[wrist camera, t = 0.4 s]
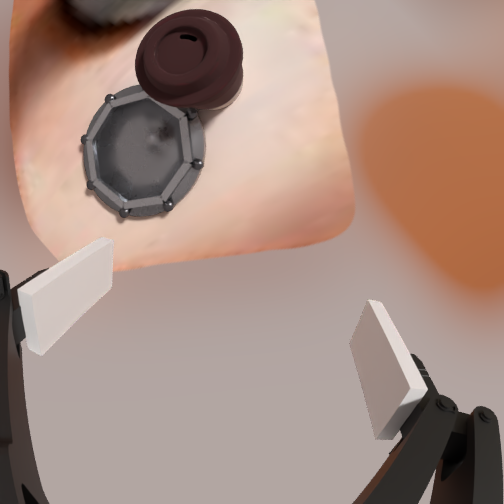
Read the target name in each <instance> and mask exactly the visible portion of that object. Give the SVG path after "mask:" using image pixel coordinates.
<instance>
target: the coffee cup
mask: <svg viewBox="0 0 504 504" xmlns="http://www.w3.org/2000/svg"><path fill="white" fill-rule="evenodd" d="M242 60H243V48H242V43H241V40H240V38H239V35H238V33H237V31H236V29H235V28H234V26H233V25H232V24H231V23H230V22H229V21H228V20H227V19H226V18H224V17H223V16H221V15H219V14H217V13H214V12H211V11H208V10H202V9H190V10H184V11H180V12H176V13H174V14H171V15H169V16H167V17H165V18H164V19H162V20H161V21H159V22H158V23H157V24H155V25H154V26H153V27H152V28H151V29H150V30H149V31H148V33H147V34H146V35H145V36H144V38H143V40H142V41H141V43H140V45H139V48H138V50H137V54H136V59H135V71H136V76H137V79H138V82H139V84H140V86H141V87H142V89H143V90H144V91H145V92H146V93H147V95H149V96H150V97H151V98H152V99H154V100H156V101H158V102H160V103H162V104H165V105H168V106H171V107H176V108H191V107H192V108H196V109H208V110H217V109H221V108H224V107H226V106H228V105H230V104H231V103H233V102H234V101H235V100H236V99H237V97H238V96H239V94H240V92H241V90H242V86H243V68H242Z"/></svg>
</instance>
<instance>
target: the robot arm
mask: <svg viewBox="0 0 504 504" xmlns="http://www.w3.org/2000/svg"><path fill="white" fill-rule="evenodd" d="M113 247H114V240H112V239H108V238H104V237H101V238H99V239H97V240H95V241H94V242H92V243H90V244H89V245H87V246H85V247H83V248H82V249H80V250H78V251H77V252H75V253H74V254H72V255H70V256H69V257H67V258H65V259H64V260H62V261H60V262H59V263H57V264H56V265H54V266H52V267H51V268H47V269H44V270H41V271H38V272H37V273H35V274H34V275H32V277H29V278H27V279H26V281H23V282H21V283H20V284H18V285H17V286H15V287H13V288H12V289H10V283H9V275H8V273H7V272H6V271H3V270H0V504H49V502H48V500H47V498H46V496H45V494H44V491H43V489H42V486H41V482H40V478H39V474H38V470H37V466H36V461H35V457H34V452H33V447H32V442H31V436H30V430H29V424H28V417H27V409H26V401H25V392H24V380H23V367H22V366H23V365H22V348H21V343H20V342H21V341H22V340H23V339H24V338H26V342H27V346H28V349H29V350H31V351H33V352H35V353H37V354H39V355H41V356H42V355H43V354H44V353H45V352H46V351H47V350H48V349H49V348H50V347H51V346H52V345H53V344H54V343H55V342H56V341H57V340H58V339H59V338H60V337H61V336H62V335H63V334H64V333H65V332H66V331H67V330H68V329H69V328H70V327H71V326H72V325H73V324H74V323H75V322H76V321H77V320H78V319H79V318H80V317H81V316H82V315H83V314H84V313H85V312H86V311H87V310H88V309H90V308H91V307H92V306H93V304H95V303H96V302H97V301H98V300H99V299H100V298H101V297H102V296H103V295H104V294H105V293H107V292H108V291H109V290H110V289H111V288H112V269H113ZM349 344H350V348H351V351H352V354H353V357H354V361H355V365H356V368H357V372H358V375H359V379H360V382H361V386H362V389H363V393H364V397H365V400H366V404H367V408H368V412H369V416H370V419H371V423H372V427H373V431H374V435H375V439H381V440H382V439H383V440H387V439H388V440H392V439H393V438H394V437H395V436H396V434H397V433H398V432H399V430H400V431H401V434H402V438H401V440H400V441H399V442H398V443H397V445H396V446H395V447H394V448H393V449H392V451H391V452H390V453H389V457H388V458H387V460H386V461H385V462H384V464H383V465H382V467H381V468H380V469H379V471H378V472H377V473H376V475H375V476H374V477H373V479H372V480H371V482H370V483H369V484H368V485H367V486H366V488H365V489H364V490H363V491H362V493H361V494H360V495H359V496H358V498H357V499H356V500H355V501H354V502H353V503H352V504H418V503H419V500H420V499H421V497H422V495H423V493H424V491H425V489H426V487H427V485H428V484H429V482H430V479H431V477H432V475H433V473H434V471H435V469H436V473H435V479H434V485H433V490H432V496H431V501H430V504H503V470H502V455H501V443H500V434H499V425H498V420H497V417H496V415H495V414H494V412H493V411H491V410H490V409H488V408H486V407H483V406H478V407H476V408H475V409H474V410H473V412H472V413H471V414H470V415H469V414H466V413H462V412H458V408H457V405H456V404H455V403H454V402H453V400H451V399H450V398H448V397H446V396H444V395H439V393H438V392H437V389H436V388H435V386H434V384H433V382H432V380H431V378H430V377H429V374H428V372H427V371H425V370H426V369H425V367H424V365H423V363H422V361H420V360H419V359H418V358H417V357H416V356H415V355H414V354H410V353H409V351H408V349H407V348H406V346H405V344H404V342H403V340H402V338H401V337H400V335H399V333H398V331H397V329H396V327H395V326H394V324H393V322H392V320H391V319H390V317H389V315H388V313H387V312H386V310H385V308H384V307H383V305H382V303H381V302H379V301H374V300H369V299H368V300H367V303H366V305H365V308H364V310H363V312H362V315H361V318H360V320H359V323H358V325H357V327H356V329H355V332H354V334H353V336H352V339H351V341H350V343H349Z"/></svg>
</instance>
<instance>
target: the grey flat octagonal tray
mask: <svg viewBox="0 0 504 504" xmlns="http://www.w3.org/2000/svg"><path fill="white" fill-rule="evenodd" d="M81 143H82V144H84V165H85V170H86V174H87V177H88V180H89V181H88V182H87V188H88V189H90V190H92V189H94V191H95V192H96V194H97V195H98V196H99V198H100V199H101V200H102V201H103V202H104V203H106V204H107V205H108V206H110V207H111V208H113V209H114V210H116V211H118V212H119V214H120V216H121V217H123V218H125V217H127V216H129V215H131V216H150V215H155V214H158V213H160V212H163V211H167V212H169V211H171V210H172V209H173V208H174V205H176V204H177V203H178V202H180V201H181V200H182V199H183V198H184V197H185V196H186V195H187V194H188V193H189V192H190V191H191V189H192V188H193V186H194V185H195V183H196V182H197V180H198V178H199V175H200V173H201V170H202V168H203V167H204V159H205V151H206V142H205V134H204V129H203V126H202V123H201V120H200V118H199V116H198V111H197V110H196V109H195V108H192V107H191V108H176V107H171V106H168V105H165V104H162V103H160V102H158V101H156V100H154V99H152V98H151V97H150V96H149V95H147V93H146V92H145V91H144V90H143V89H142V87H141V86H140V85H136V86H131V87H129V88H126V89H123V90H121V91H120V92H118V93H116V94H115V95H112V94H108V95H107V96H106V97H105V103H104V104H103V105H102V106H101V107H100V108H99V110H98V111H97V112H96V114H95V115H94V117H93V119H92V121H91V123H90V125H89V128H88V130H87V134H86V135H83V136H82V137H81Z"/></svg>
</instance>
